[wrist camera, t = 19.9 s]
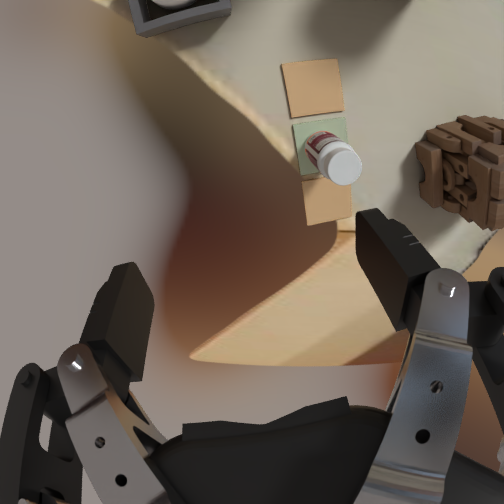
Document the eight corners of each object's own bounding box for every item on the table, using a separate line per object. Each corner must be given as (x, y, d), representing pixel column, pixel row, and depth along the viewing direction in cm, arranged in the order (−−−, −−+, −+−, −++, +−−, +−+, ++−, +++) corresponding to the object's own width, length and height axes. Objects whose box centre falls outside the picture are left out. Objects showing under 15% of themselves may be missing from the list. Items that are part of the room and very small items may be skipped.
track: (281, 64, 30) (281, 64, 29) (336, 58, 29) (337, 58, 29) (307, 224, 43) (307, 225, 43) (351, 215, 43) (351, 216, 42)
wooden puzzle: (500, 107, 32) (580, 147, 17) (500, 178, 40) (565, 229, 25) (412, 127, 35) (505, 180, 20) (420, 210, 43) (487, 282, 28)
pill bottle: (334, 165, 38) (359, 191, 31) (301, 161, 37) (320, 187, 30) (341, 132, 35) (370, 151, 28) (307, 127, 34) (329, 144, 27)
